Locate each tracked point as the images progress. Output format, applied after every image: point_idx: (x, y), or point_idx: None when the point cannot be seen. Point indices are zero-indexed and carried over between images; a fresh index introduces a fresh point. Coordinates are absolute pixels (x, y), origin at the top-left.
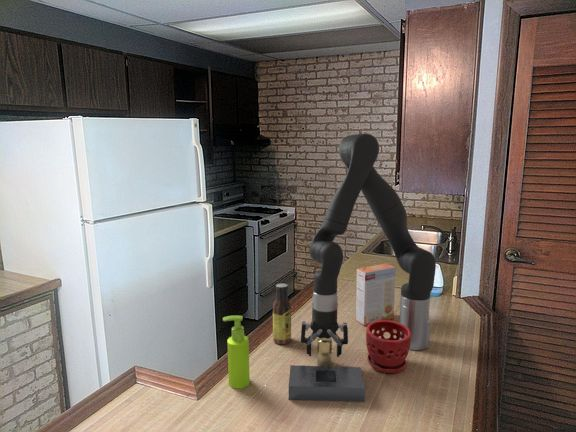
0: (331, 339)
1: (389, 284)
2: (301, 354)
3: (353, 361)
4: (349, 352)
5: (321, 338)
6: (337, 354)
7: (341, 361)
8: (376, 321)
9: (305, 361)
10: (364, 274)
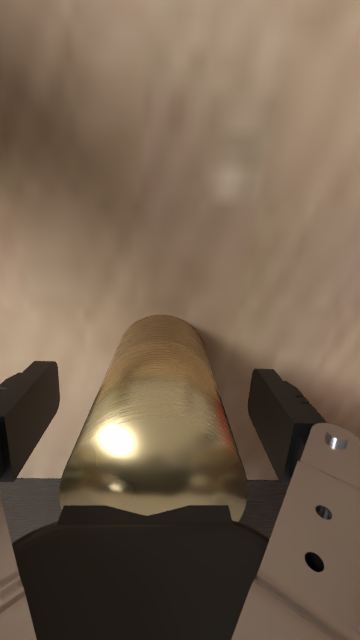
0: (244, 487)
1: None
2: (3, 240)
3: (340, 328)
4: (351, 214)
5: (114, 466)
6: (256, 427)
7: (269, 328)
8: None
9: (42, 329)
10: None
